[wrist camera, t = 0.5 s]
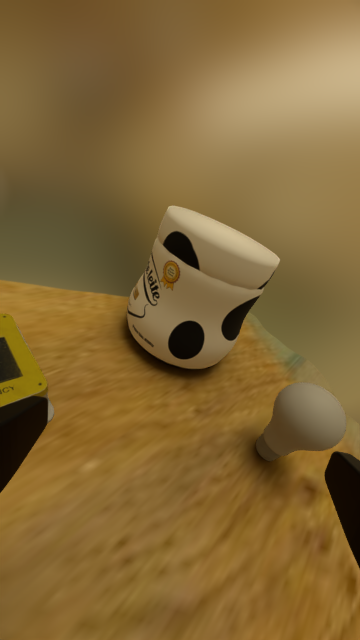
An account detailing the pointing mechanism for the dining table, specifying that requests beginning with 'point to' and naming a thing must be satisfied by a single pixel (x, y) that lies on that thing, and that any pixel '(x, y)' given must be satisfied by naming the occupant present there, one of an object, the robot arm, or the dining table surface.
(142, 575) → the dining table surface
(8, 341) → the emergency button
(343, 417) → the lightbulb
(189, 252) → the milk container
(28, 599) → the dining table surface
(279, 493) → the dining table surface
